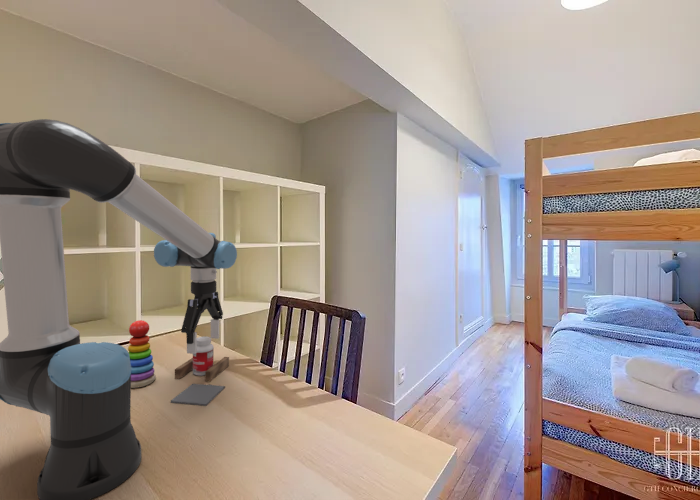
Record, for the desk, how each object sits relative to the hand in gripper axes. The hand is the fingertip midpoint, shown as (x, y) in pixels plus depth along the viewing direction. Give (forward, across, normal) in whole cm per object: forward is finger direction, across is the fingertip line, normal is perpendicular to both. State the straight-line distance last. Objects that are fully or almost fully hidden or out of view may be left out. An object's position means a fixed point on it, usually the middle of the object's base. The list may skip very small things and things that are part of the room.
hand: (204, 345), depth 104 cm
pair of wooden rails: (+9, 0, 0) cm, 9 cm away
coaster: (+8, -14, -7) cm, 18 cm away
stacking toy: (+9, -10, +14) cm, 20 cm away
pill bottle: (+9, 0, 0) cm, 9 cm away
